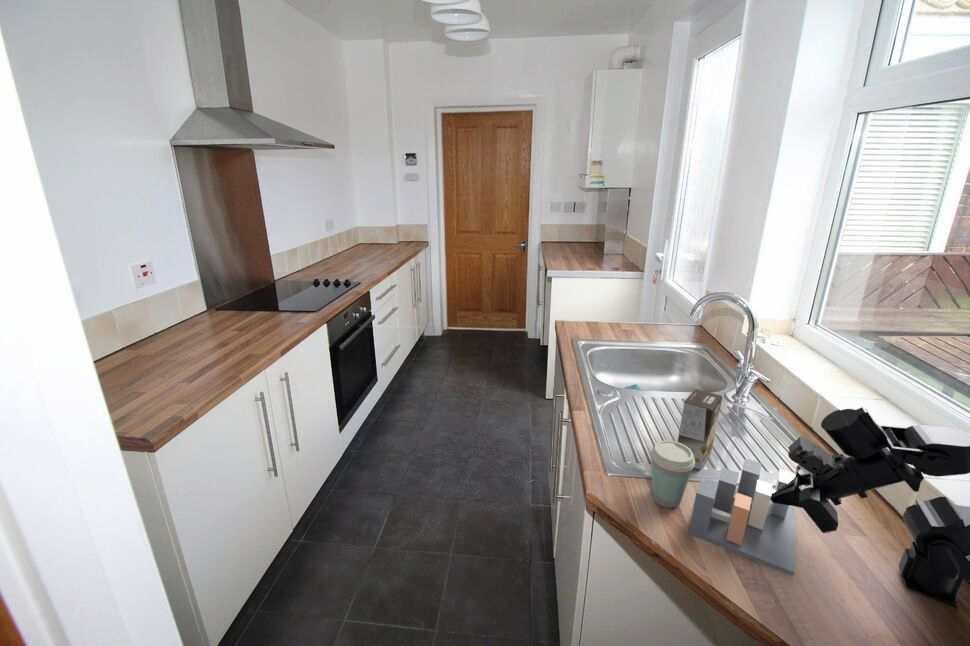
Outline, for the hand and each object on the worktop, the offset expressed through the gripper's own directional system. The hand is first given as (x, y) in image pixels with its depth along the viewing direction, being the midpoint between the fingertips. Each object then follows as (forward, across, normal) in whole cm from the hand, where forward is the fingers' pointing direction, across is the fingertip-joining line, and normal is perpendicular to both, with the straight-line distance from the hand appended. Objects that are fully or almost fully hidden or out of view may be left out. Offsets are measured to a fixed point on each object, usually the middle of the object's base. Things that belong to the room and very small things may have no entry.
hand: (771, 499), depth 85 cm
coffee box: (+17, -18, -6) cm, 25 cm away
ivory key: (+7, 0, +2) cm, 7 cm away
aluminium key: (+4, -6, +4) cm, 9 cm away
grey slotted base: (+8, 0, +3) cm, 8 cm away
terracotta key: (+9, +6, -1) cm, 11 cm away
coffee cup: (+18, +1, -7) cm, 20 cm away
